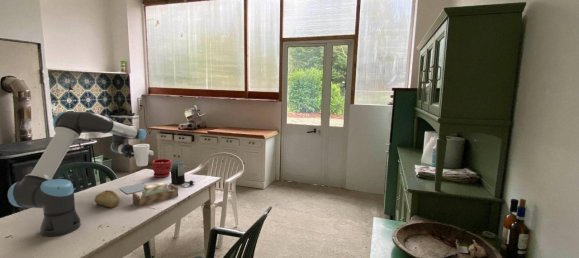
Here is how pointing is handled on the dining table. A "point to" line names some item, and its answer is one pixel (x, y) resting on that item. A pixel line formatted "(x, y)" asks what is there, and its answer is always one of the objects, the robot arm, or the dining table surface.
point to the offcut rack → (155, 197)
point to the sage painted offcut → (155, 192)
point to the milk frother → (178, 173)
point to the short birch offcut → (155, 187)
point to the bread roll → (107, 199)
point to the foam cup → (141, 154)
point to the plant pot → (161, 167)
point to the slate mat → (133, 188)
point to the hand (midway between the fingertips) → (145, 154)
